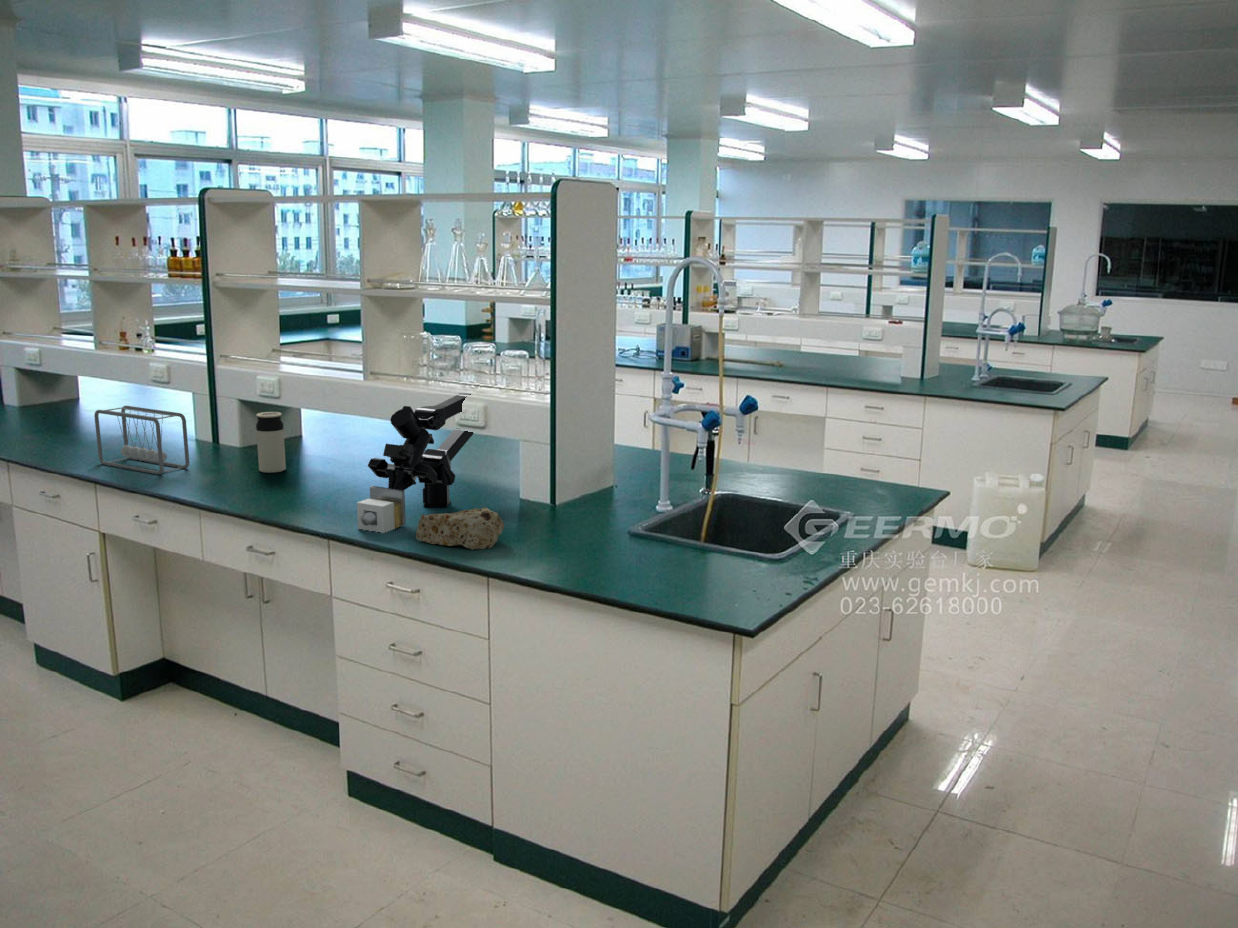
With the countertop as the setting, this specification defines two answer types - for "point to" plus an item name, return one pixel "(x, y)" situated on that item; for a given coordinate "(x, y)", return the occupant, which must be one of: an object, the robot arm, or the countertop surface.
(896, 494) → the countertop surface
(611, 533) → the countertop surface
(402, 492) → the grey piece
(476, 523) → the rock
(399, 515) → the spacer
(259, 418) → the travel mug
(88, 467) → the countertop surface
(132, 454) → the newton's cradle
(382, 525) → the block
